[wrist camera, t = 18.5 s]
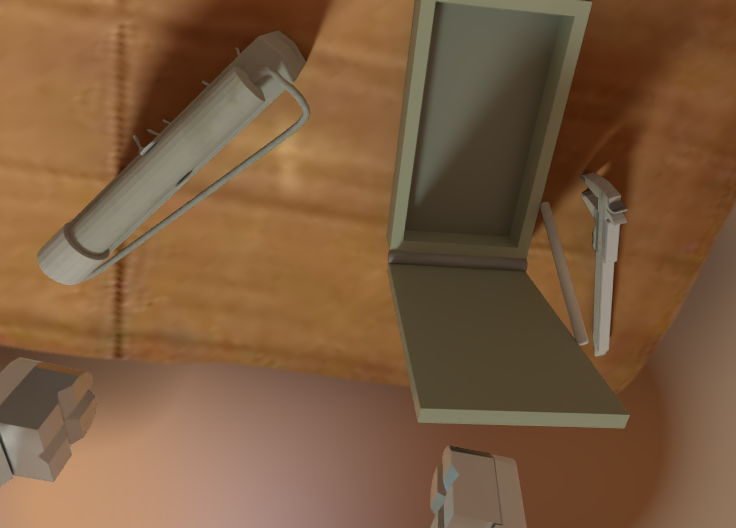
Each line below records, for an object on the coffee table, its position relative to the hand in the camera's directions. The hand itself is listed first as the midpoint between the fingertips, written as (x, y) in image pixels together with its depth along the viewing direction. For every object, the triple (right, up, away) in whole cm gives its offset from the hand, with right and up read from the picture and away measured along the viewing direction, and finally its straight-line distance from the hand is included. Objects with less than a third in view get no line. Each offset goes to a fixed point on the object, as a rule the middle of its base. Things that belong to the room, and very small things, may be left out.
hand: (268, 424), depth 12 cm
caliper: (+24, +3, +38) cm, 45 cm away
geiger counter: (-12, +13, +30) cm, 35 cm away
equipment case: (+11, +14, +31) cm, 36 cm away
